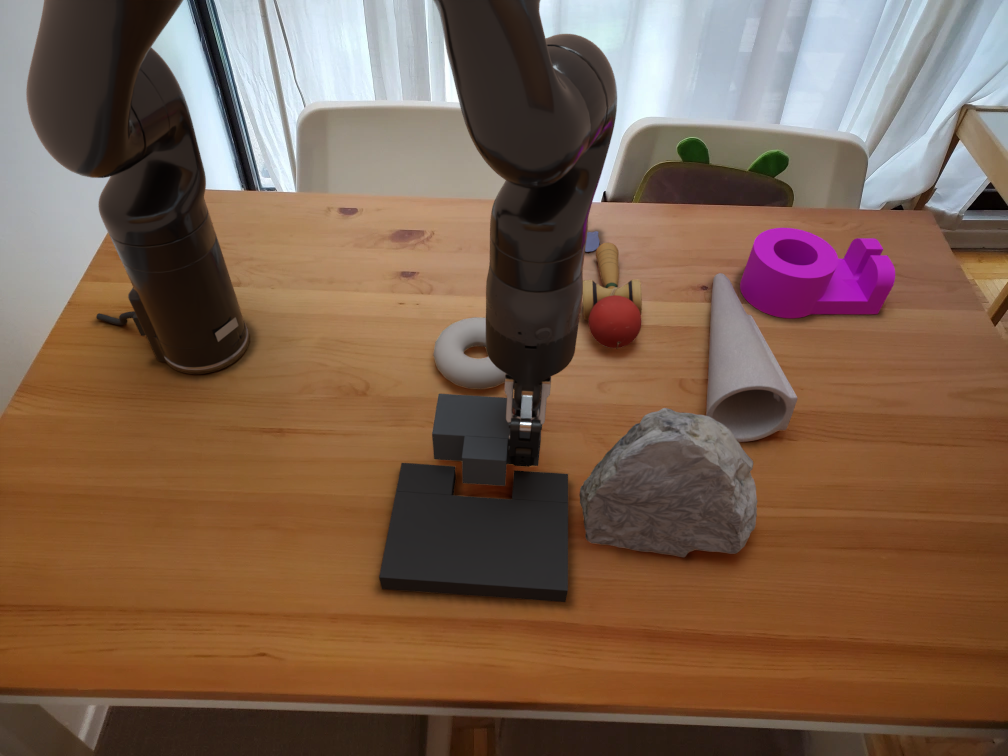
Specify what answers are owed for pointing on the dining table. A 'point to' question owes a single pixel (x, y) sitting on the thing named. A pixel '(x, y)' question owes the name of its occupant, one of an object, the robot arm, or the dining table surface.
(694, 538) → the decorative rock
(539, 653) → the dining table surface
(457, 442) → the grey pad
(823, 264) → the tape dispenser
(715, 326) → the grey hollow cone
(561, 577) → the black pad
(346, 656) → the dining table surface
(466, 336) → the donut
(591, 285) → the kendama
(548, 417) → the dining table surface
